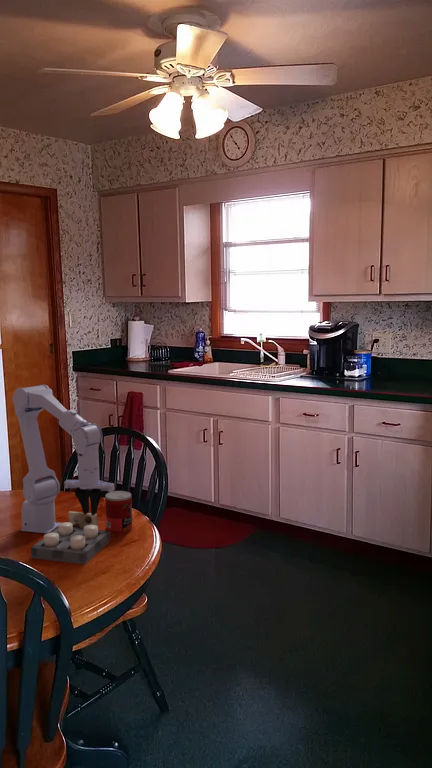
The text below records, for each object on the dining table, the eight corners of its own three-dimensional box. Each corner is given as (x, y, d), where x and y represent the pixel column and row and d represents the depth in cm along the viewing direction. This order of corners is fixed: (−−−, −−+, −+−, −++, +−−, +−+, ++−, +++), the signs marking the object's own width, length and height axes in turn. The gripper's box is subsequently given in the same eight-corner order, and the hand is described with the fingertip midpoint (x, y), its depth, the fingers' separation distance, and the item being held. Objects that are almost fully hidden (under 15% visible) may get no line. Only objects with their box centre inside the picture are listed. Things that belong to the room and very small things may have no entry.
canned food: (127, 535, 183) (126, 499, 182) (102, 533, 185) (101, 498, 183) (135, 525, 191) (135, 491, 189) (111, 523, 192) (110, 489, 191)
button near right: (67, 550, 167) (67, 540, 166) (74, 544, 170) (74, 534, 170) (81, 551, 166) (80, 541, 165) (88, 545, 169) (87, 536, 169)
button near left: (41, 547, 169) (41, 537, 168) (48, 541, 172) (48, 532, 172) (54, 548, 168) (54, 538, 167) (61, 542, 171) (61, 533, 171)
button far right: (81, 538, 174) (81, 529, 174) (87, 533, 178) (87, 524, 178) (94, 540, 173) (94, 530, 173) (100, 534, 177) (100, 525, 177)
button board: (31, 558, 168) (31, 547, 167) (60, 535, 183) (60, 526, 182) (85, 564, 164) (84, 553, 163) (110, 540, 179) (109, 531, 178)
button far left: (56, 536, 176) (55, 526, 176) (62, 530, 180) (62, 521, 180) (68, 537, 175) (68, 528, 175) (75, 532, 179) (74, 523, 179)
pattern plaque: (68, 533, 185) (68, 512, 184) (70, 531, 186) (69, 511, 185) (96, 536, 183) (95, 515, 182) (97, 534, 184) (97, 513, 183)
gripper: (58, 469, 171) (60, 516, 173) (106, 473, 167) (107, 521, 169) (70, 462, 177) (72, 507, 179) (116, 466, 174) (118, 512, 176)
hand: (90, 513), depth 175 cm, fingers closed
